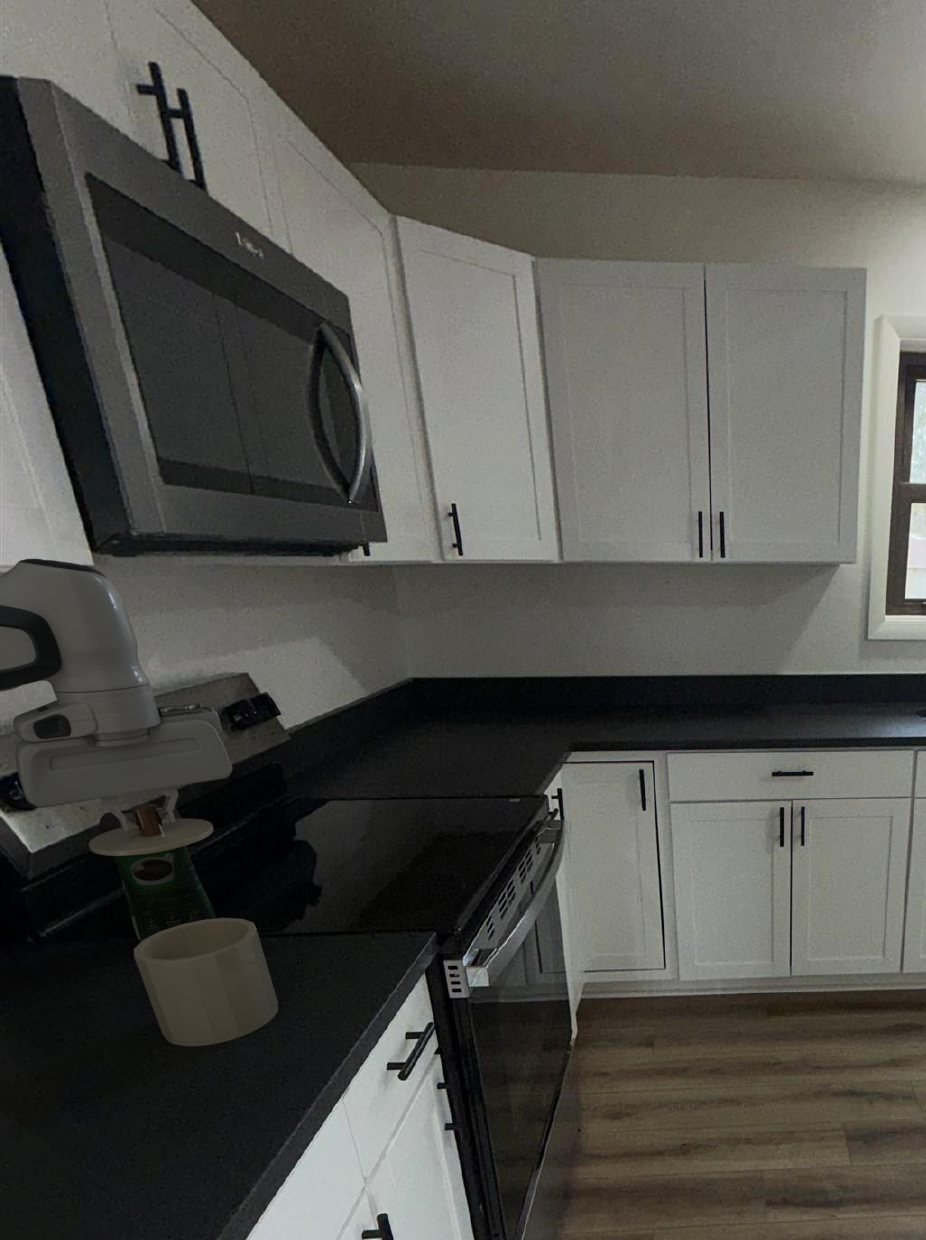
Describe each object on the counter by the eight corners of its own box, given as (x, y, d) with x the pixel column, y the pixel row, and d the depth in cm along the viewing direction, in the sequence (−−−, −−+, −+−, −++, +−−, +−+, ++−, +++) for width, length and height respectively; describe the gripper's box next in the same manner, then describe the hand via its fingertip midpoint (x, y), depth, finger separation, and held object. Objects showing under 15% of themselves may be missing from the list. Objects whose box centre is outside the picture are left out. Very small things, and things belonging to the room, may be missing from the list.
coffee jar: (218, 916, 126) (181, 796, 118) (217, 935, 119) (178, 810, 112) (140, 930, 121) (96, 807, 113) (135, 950, 115) (89, 822, 107)
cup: (197, 1057, 91) (167, 971, 87) (143, 1029, 96) (112, 947, 92) (298, 1010, 100) (276, 931, 96) (244, 987, 106) (221, 910, 101)
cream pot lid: (123, 867, 95) (109, 828, 93) (71, 849, 101) (57, 812, 99) (235, 837, 105) (225, 800, 103) (182, 821, 110) (171, 787, 108)
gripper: (207, 698, 105) (238, 804, 110) (-6, 720, 92) (41, 839, 97) (221, 704, 101) (251, 814, 106) (0, 728, 87) (48, 852, 93)
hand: (149, 826), depth 102 cm, fingers closed on cream pot lid, 2 cm apart
